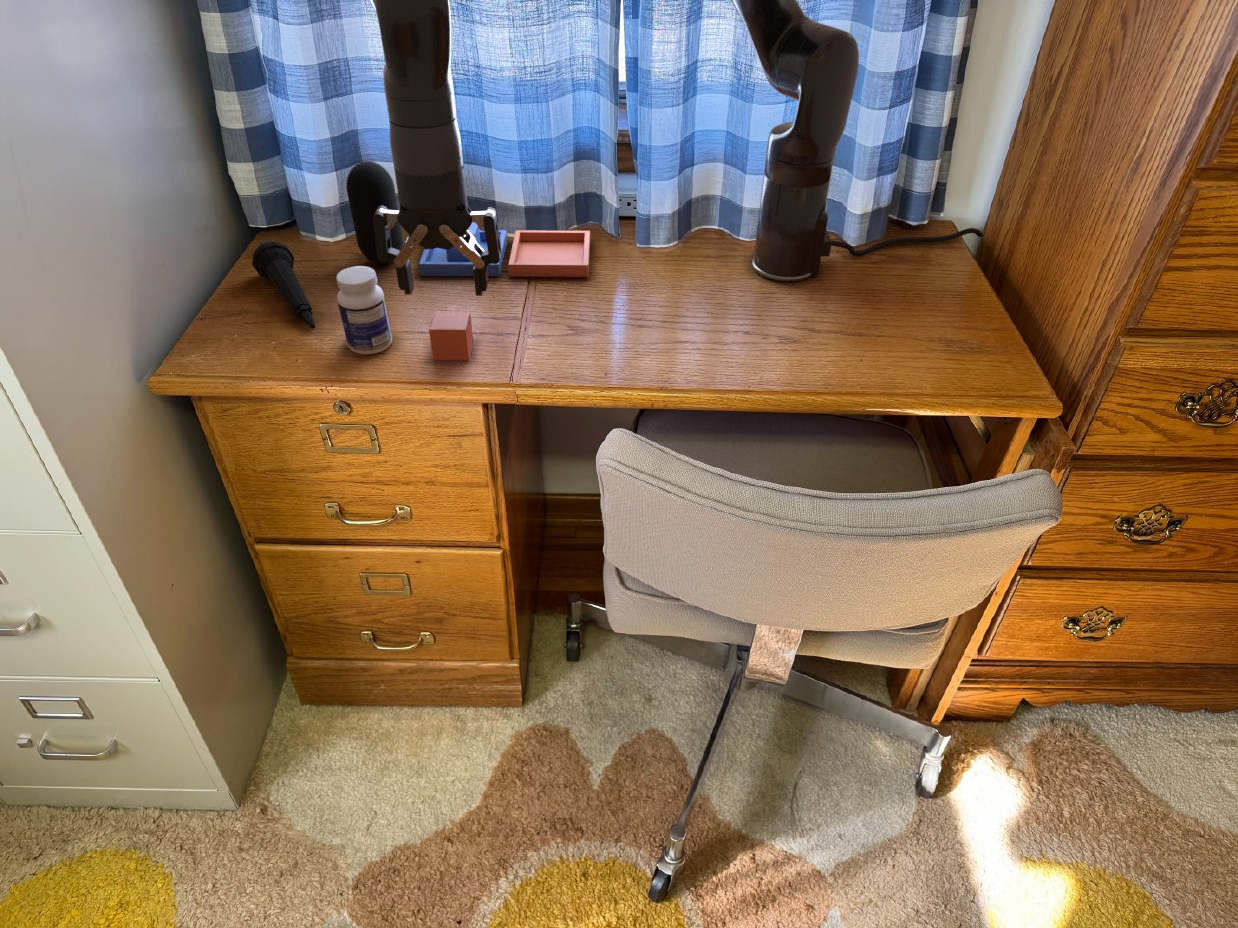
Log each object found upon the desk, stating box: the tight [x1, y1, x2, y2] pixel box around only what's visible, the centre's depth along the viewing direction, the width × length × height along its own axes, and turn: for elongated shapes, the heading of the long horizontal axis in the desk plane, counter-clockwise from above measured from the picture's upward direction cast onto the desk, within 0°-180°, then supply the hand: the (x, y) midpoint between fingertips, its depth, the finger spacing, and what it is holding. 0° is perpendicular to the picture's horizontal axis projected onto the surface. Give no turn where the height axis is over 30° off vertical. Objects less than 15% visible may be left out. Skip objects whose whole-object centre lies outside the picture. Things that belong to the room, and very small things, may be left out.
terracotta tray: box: [507, 229, 591, 278], centre depth 128 cm, size 12×12×2 cm
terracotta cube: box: [428, 310, 474, 361], centre depth 108 cm, size 4×4×4 cm
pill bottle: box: [336, 265, 393, 355], centre depth 107 cm, size 6×6×10 cm
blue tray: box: [418, 229, 508, 277], centre depth 128 cm, size 12×12×2 cm
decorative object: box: [345, 161, 404, 265], centre depth 123 cm, size 7×7×15 cm
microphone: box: [251, 240, 316, 330], centre depth 118 cm, size 6×6×20 cm
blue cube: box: [446, 222, 481, 262], centre depth 127 cm, size 4×4×4 cm
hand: (445, 292), depth 103 cm, fingers open, 8 cm apart
